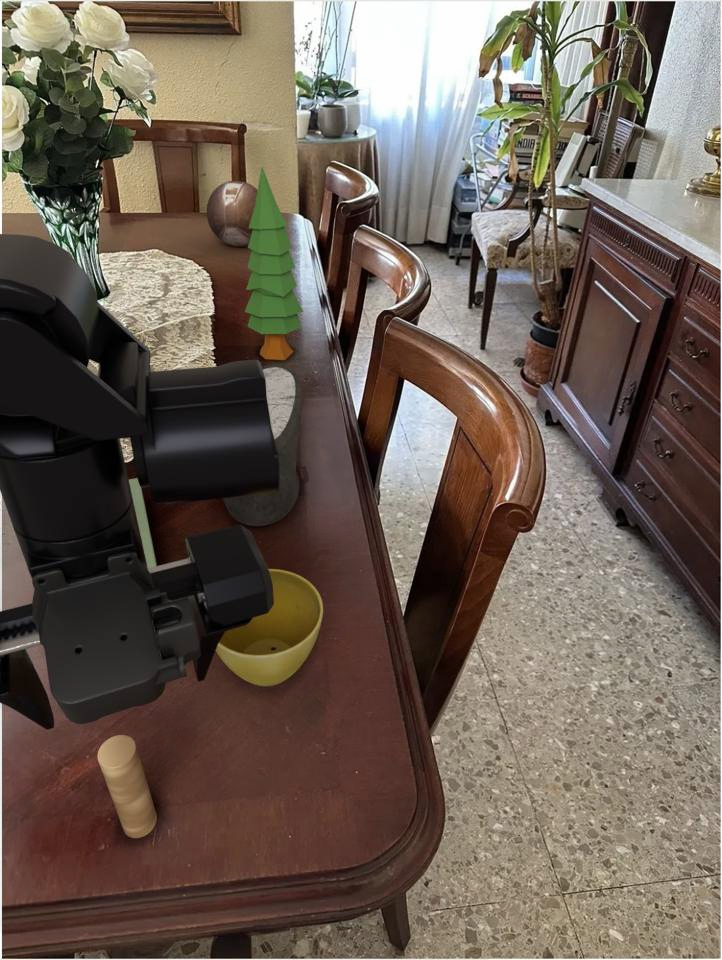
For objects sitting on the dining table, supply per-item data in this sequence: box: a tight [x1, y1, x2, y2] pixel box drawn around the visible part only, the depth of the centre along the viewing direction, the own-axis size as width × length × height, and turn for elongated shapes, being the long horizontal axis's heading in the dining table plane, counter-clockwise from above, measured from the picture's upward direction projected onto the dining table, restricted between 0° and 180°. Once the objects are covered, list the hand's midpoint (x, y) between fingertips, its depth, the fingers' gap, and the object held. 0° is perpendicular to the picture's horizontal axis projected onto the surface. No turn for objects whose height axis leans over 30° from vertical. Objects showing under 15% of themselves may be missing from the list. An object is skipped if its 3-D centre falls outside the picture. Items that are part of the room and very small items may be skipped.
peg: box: [97, 734, 158, 839], centre depth 46 cm, size 2×2×9 cm
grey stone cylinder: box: [222, 363, 303, 527], centre depth 83 cm, size 25×9×9 cm, turn 179°
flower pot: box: [215, 568, 324, 687], centre depth 58 cm, size 10×10×7 cm
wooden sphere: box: [206, 180, 258, 248], centre depth 162 cm, size 15×15×15 cm
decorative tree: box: [244, 166, 304, 361], centre depth 107 cm, size 10×9×30 cm
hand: (127, 698), depth 42 cm, fingers open, 9 cm apart
